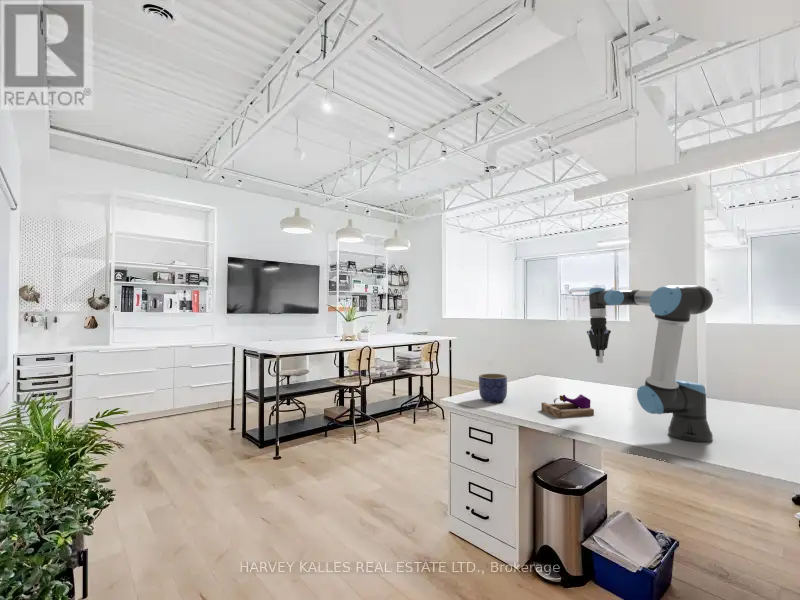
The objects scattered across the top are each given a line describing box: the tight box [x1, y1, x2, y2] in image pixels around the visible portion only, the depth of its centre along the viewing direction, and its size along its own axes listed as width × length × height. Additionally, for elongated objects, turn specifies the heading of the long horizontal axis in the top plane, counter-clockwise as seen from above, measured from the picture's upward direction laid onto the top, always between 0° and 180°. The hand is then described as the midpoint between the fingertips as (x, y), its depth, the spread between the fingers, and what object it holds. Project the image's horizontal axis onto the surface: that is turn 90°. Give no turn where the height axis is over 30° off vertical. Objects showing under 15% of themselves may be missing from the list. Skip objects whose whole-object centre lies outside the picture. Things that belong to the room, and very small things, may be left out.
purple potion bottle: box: [553, 394, 591, 409], centre depth 209 cm, size 8×8×18 cm
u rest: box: [541, 402, 595, 419], centre depth 206 cm, size 15×20×4 cm
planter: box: [478, 373, 508, 404], centre depth 235 cm, size 17×16×15 cm
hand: (600, 362), depth 203 cm, fingers closed
